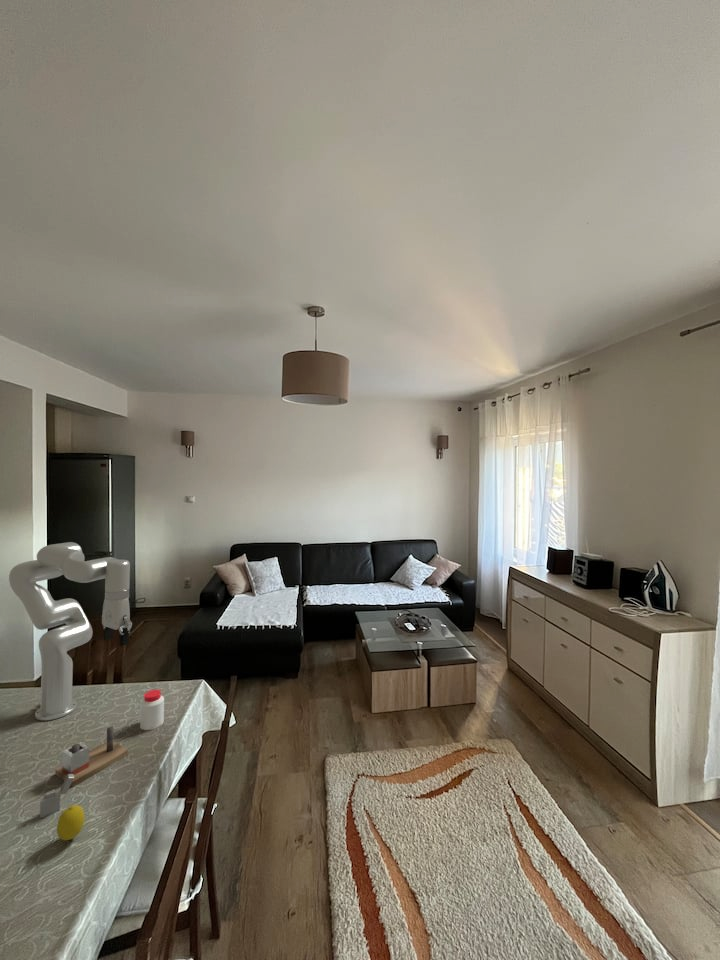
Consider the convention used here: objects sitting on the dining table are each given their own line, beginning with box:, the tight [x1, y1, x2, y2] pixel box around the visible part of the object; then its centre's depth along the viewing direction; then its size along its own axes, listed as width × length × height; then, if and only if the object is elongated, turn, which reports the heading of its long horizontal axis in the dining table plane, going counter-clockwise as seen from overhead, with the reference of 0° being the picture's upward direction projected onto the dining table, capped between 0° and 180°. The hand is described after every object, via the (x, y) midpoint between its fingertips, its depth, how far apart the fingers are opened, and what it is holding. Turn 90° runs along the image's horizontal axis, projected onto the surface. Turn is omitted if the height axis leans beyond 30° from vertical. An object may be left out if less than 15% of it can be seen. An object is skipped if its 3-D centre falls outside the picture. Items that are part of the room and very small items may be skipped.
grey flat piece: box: [39, 774, 74, 819], centre depth 107 cm, size 7×2×8 cm, turn 130°
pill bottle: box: [139, 689, 165, 731], centre depth 145 cm, size 8×8×11 cm
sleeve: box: [61, 741, 90, 775], centre depth 119 cm, size 5×5×6 cm
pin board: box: [54, 726, 129, 788], centre depth 124 cm, size 10×16×8 cm, turn 151°
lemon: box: [56, 804, 86, 841], centre depth 98 cm, size 6×6×8 cm
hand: (116, 642), depth 143 cm, fingers open, 9 cm apart
